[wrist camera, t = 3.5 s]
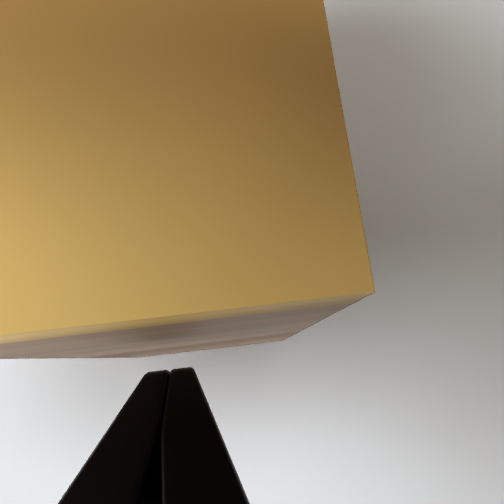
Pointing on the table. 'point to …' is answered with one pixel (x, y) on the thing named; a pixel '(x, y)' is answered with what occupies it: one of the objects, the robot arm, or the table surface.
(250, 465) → the table surface
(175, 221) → the walnut block
